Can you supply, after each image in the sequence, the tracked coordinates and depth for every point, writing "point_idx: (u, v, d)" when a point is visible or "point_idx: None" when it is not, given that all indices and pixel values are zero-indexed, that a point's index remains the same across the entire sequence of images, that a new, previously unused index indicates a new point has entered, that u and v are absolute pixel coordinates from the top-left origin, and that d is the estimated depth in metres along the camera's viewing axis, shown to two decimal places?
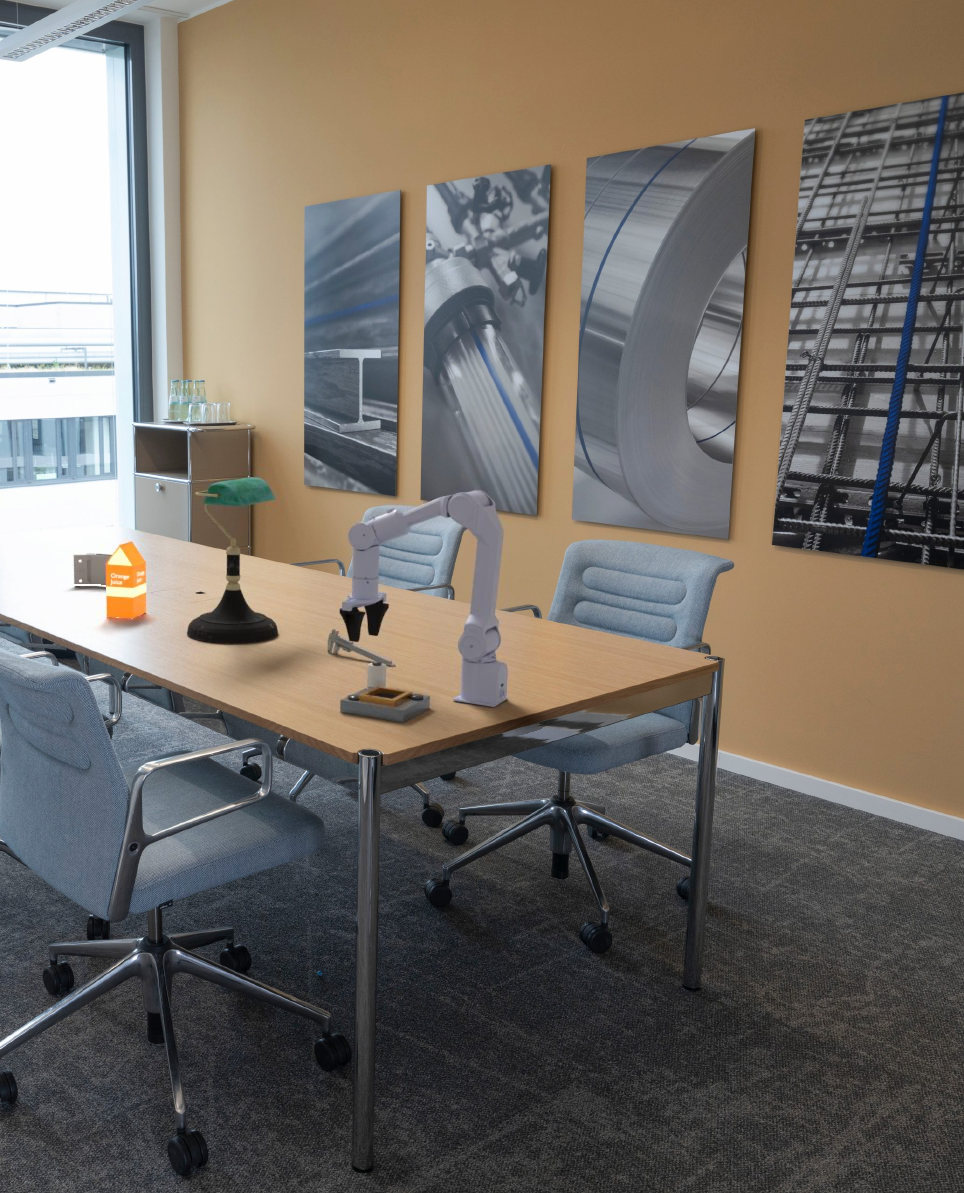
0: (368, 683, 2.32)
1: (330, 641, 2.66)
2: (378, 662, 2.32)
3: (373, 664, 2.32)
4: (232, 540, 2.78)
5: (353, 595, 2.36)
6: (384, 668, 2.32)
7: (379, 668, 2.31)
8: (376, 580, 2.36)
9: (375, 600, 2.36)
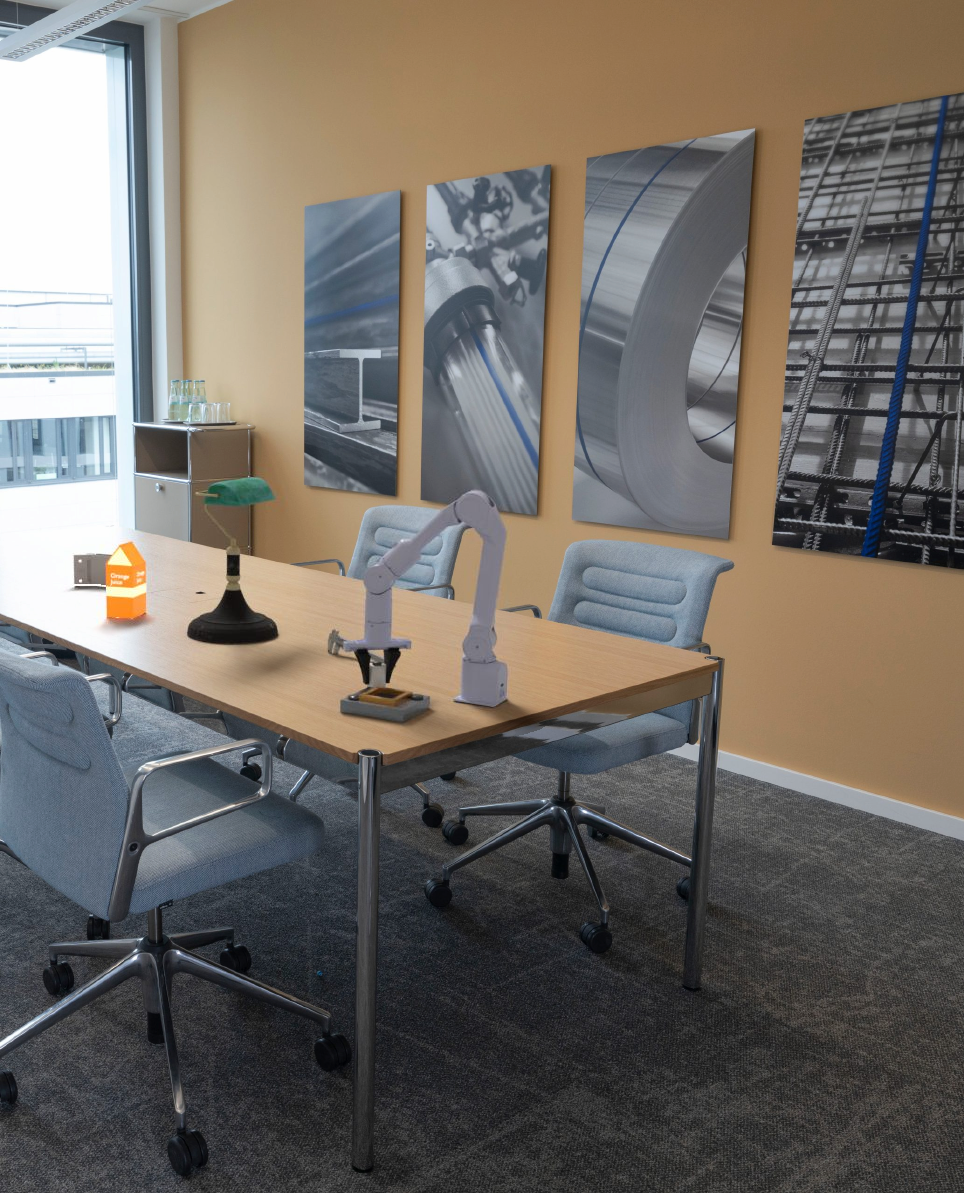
0: None
1: (330, 641, 2.66)
2: (378, 662, 2.32)
3: (373, 664, 2.32)
4: (232, 540, 2.78)
5: None
6: (384, 668, 2.32)
7: (379, 668, 2.31)
8: (382, 625, 2.28)
9: (380, 645, 2.29)
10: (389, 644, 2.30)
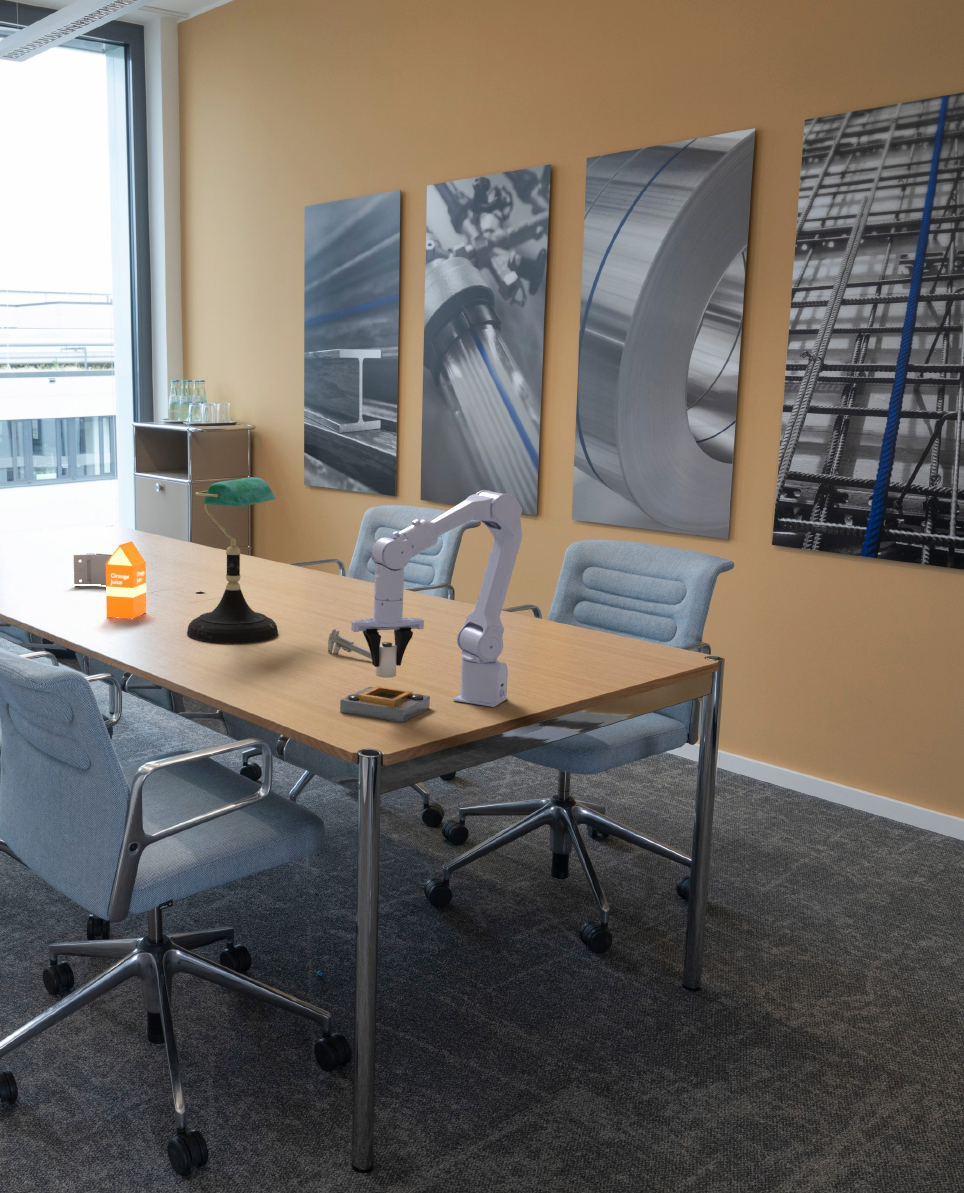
0: None
1: (331, 641, 2.66)
2: (388, 643, 2.18)
3: (383, 645, 2.18)
4: (232, 540, 2.78)
5: None
6: (394, 649, 2.18)
7: (389, 649, 2.17)
8: (393, 603, 2.14)
9: (390, 625, 2.14)
10: (400, 623, 2.16)
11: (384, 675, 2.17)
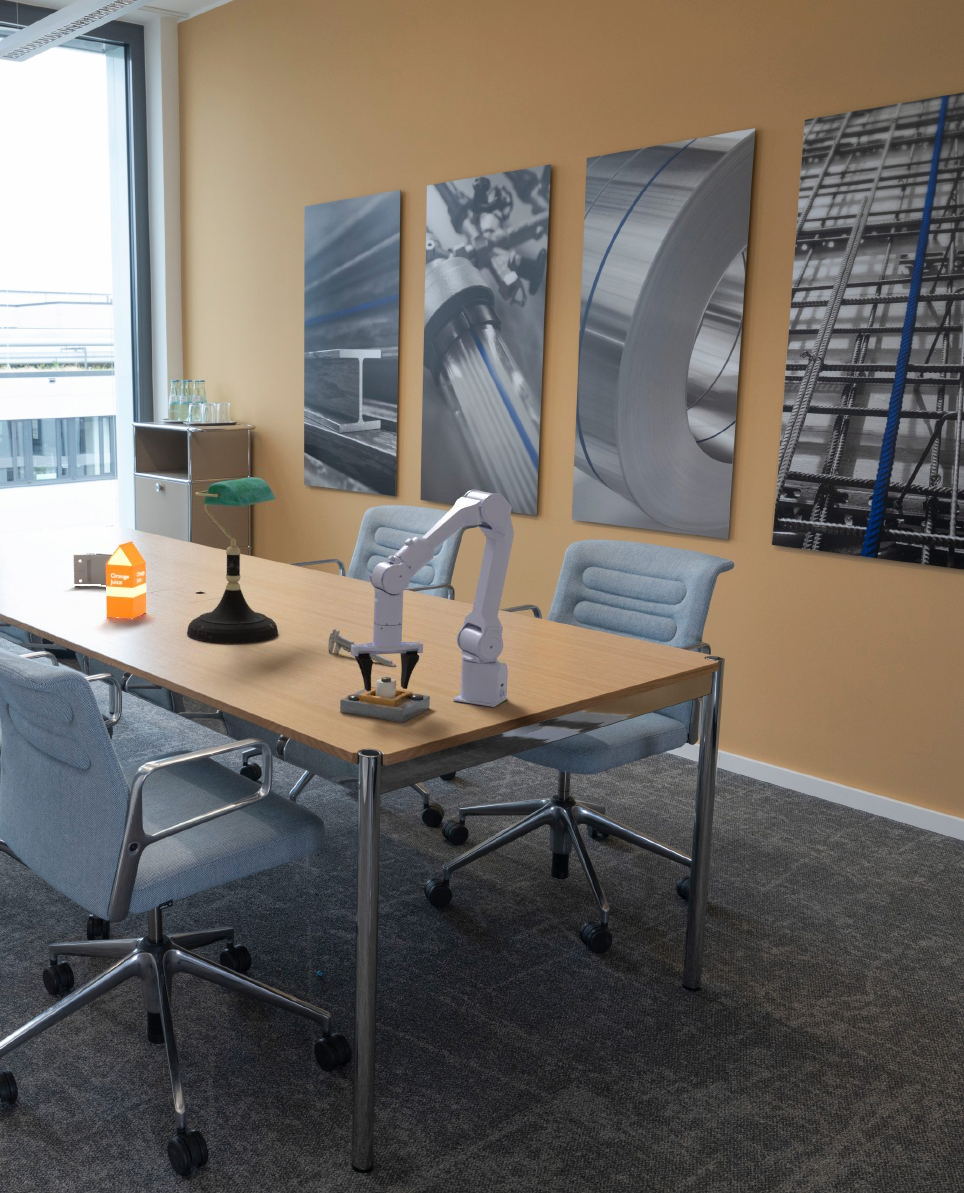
0: None
1: (331, 641, 2.66)
2: (387, 678, 2.19)
3: (382, 680, 2.19)
4: (232, 540, 2.78)
5: None
6: (394, 685, 2.19)
7: (388, 685, 2.18)
8: (392, 627, 2.15)
9: (390, 649, 2.15)
10: (400, 648, 2.17)
11: None
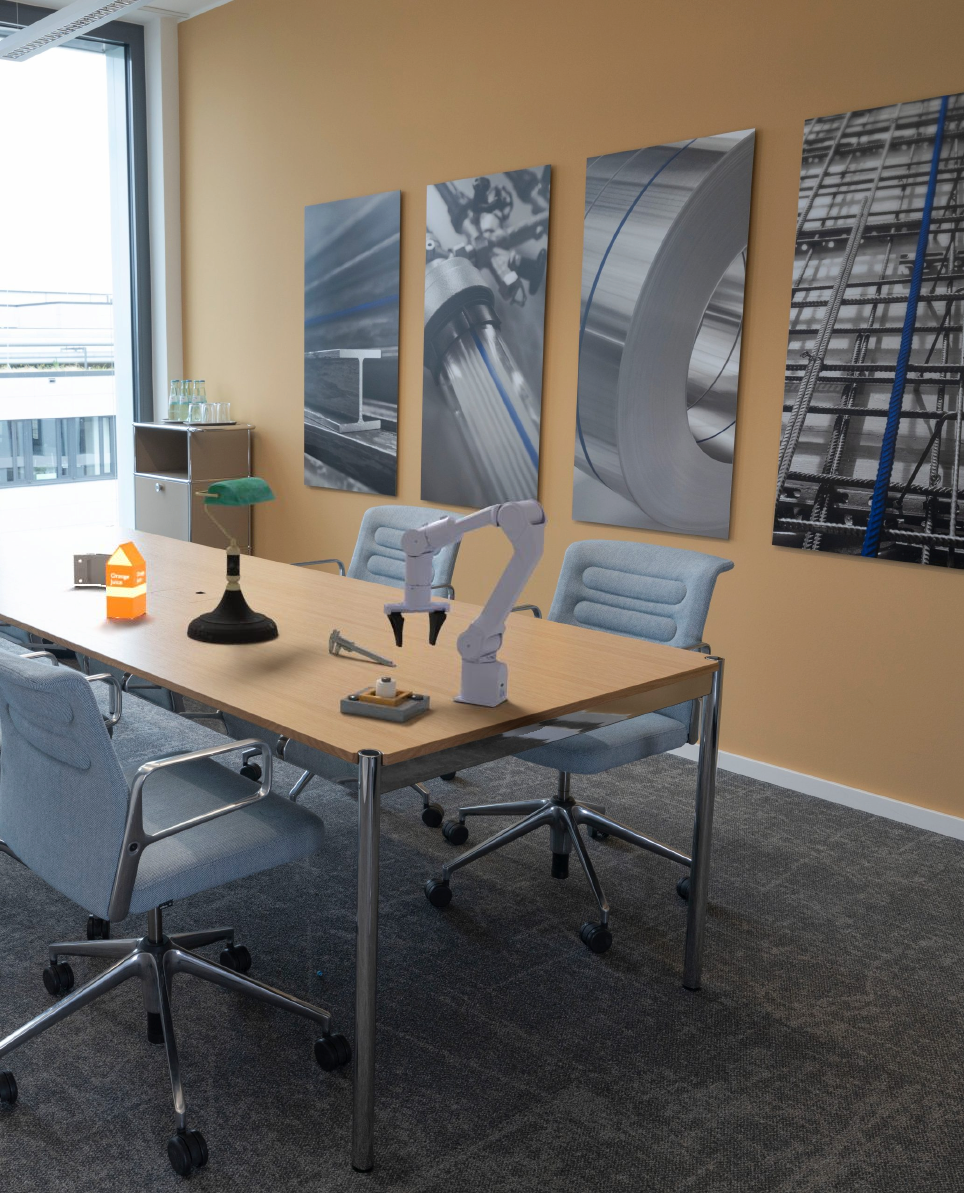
0: None
1: (331, 641, 2.66)
2: (387, 678, 2.19)
3: (382, 680, 2.19)
4: (232, 540, 2.78)
5: None
6: (394, 685, 2.19)
7: (388, 685, 2.18)
8: (422, 588, 2.32)
9: (420, 608, 2.33)
10: (429, 607, 2.34)
11: None
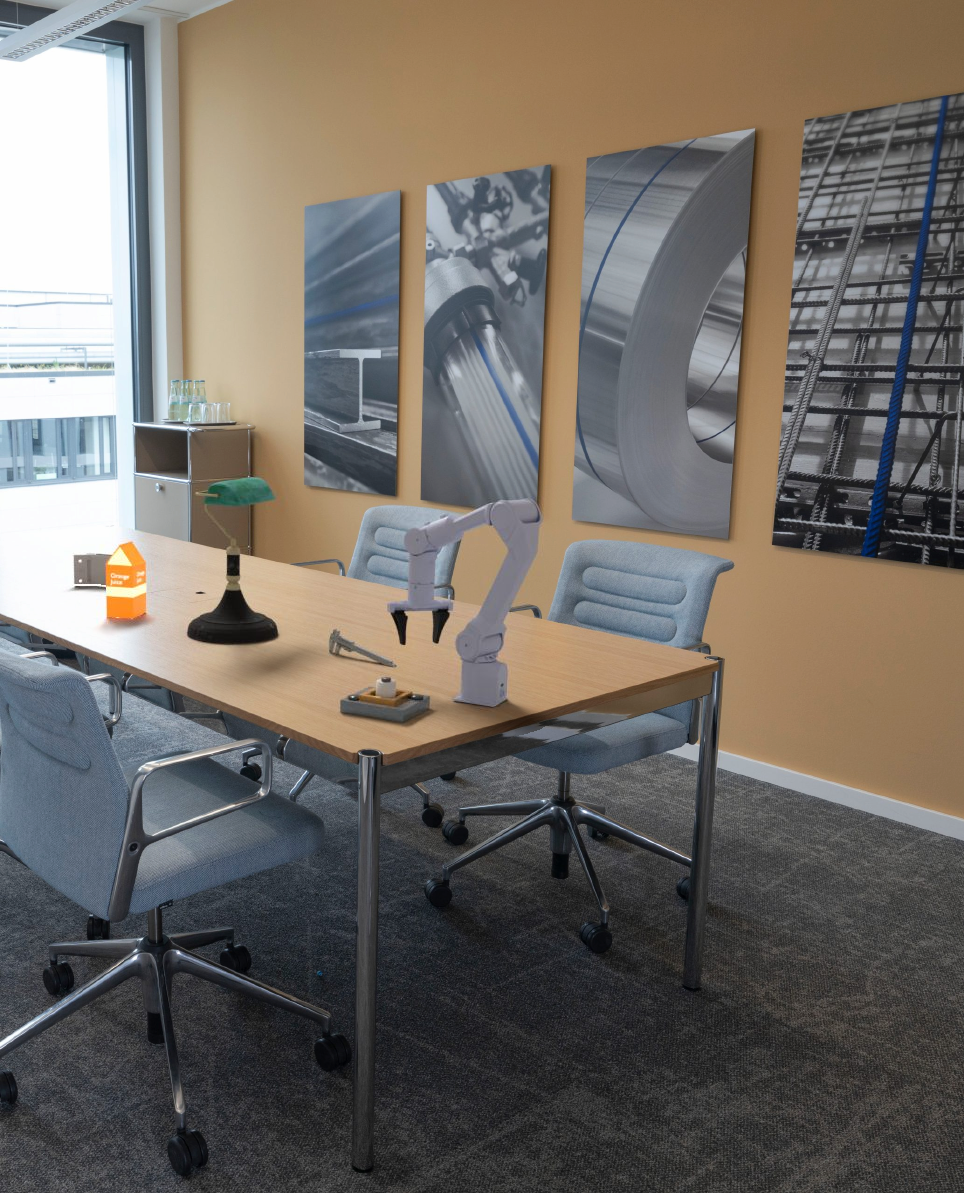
0: None
1: (331, 641, 2.66)
2: (387, 678, 2.19)
3: (382, 680, 2.19)
4: (232, 540, 2.78)
5: None
6: (394, 685, 2.19)
7: (388, 685, 2.18)
8: (426, 586, 2.34)
9: (423, 606, 2.35)
10: (432, 605, 2.36)
11: None
